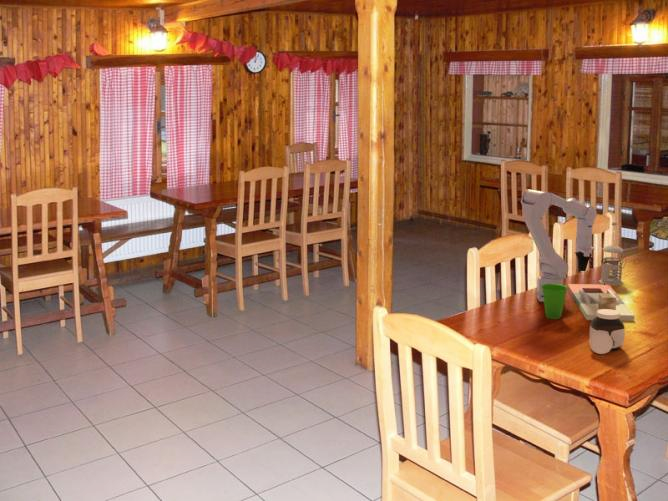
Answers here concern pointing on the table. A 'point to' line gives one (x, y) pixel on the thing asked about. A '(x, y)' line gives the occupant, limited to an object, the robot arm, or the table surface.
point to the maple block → (607, 301)
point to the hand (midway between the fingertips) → (582, 270)
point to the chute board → (596, 300)
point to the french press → (613, 278)
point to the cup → (554, 299)
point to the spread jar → (606, 331)
